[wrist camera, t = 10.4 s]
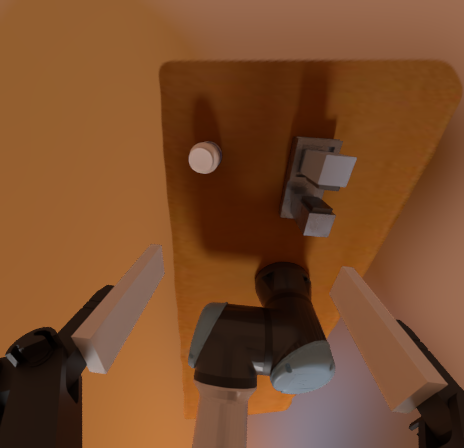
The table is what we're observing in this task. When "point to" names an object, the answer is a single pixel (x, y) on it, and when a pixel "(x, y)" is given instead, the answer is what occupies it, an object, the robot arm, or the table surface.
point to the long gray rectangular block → (326, 169)
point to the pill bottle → (205, 157)
